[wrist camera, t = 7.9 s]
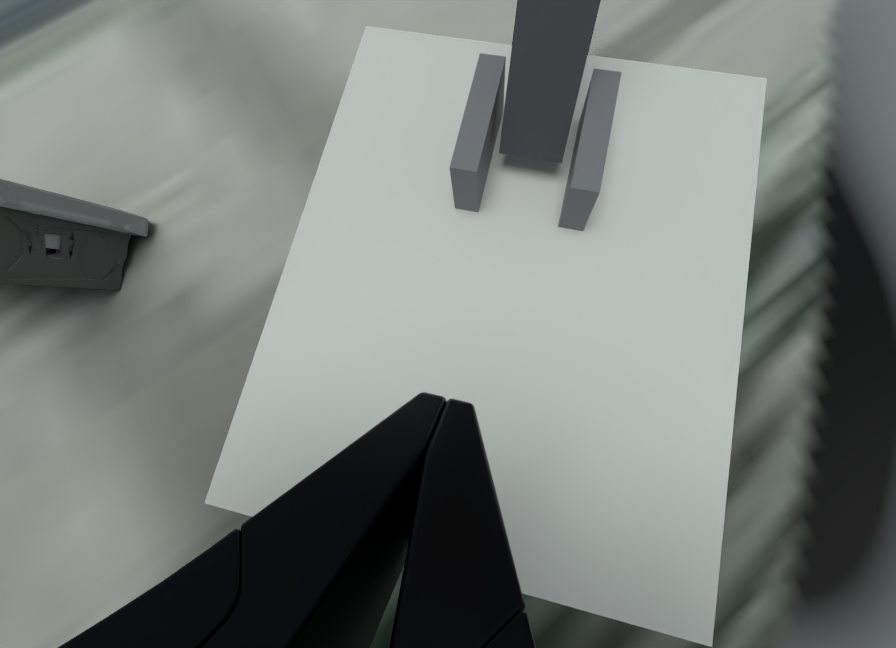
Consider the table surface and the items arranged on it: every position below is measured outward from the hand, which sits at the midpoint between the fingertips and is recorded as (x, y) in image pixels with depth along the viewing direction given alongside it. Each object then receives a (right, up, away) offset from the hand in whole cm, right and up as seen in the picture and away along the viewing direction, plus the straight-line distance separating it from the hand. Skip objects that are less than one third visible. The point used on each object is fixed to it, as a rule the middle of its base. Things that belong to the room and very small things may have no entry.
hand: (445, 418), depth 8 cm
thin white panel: (+2, +3, +14) cm, 15 cm away
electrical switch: (-19, +5, +17) cm, 26 cm away
